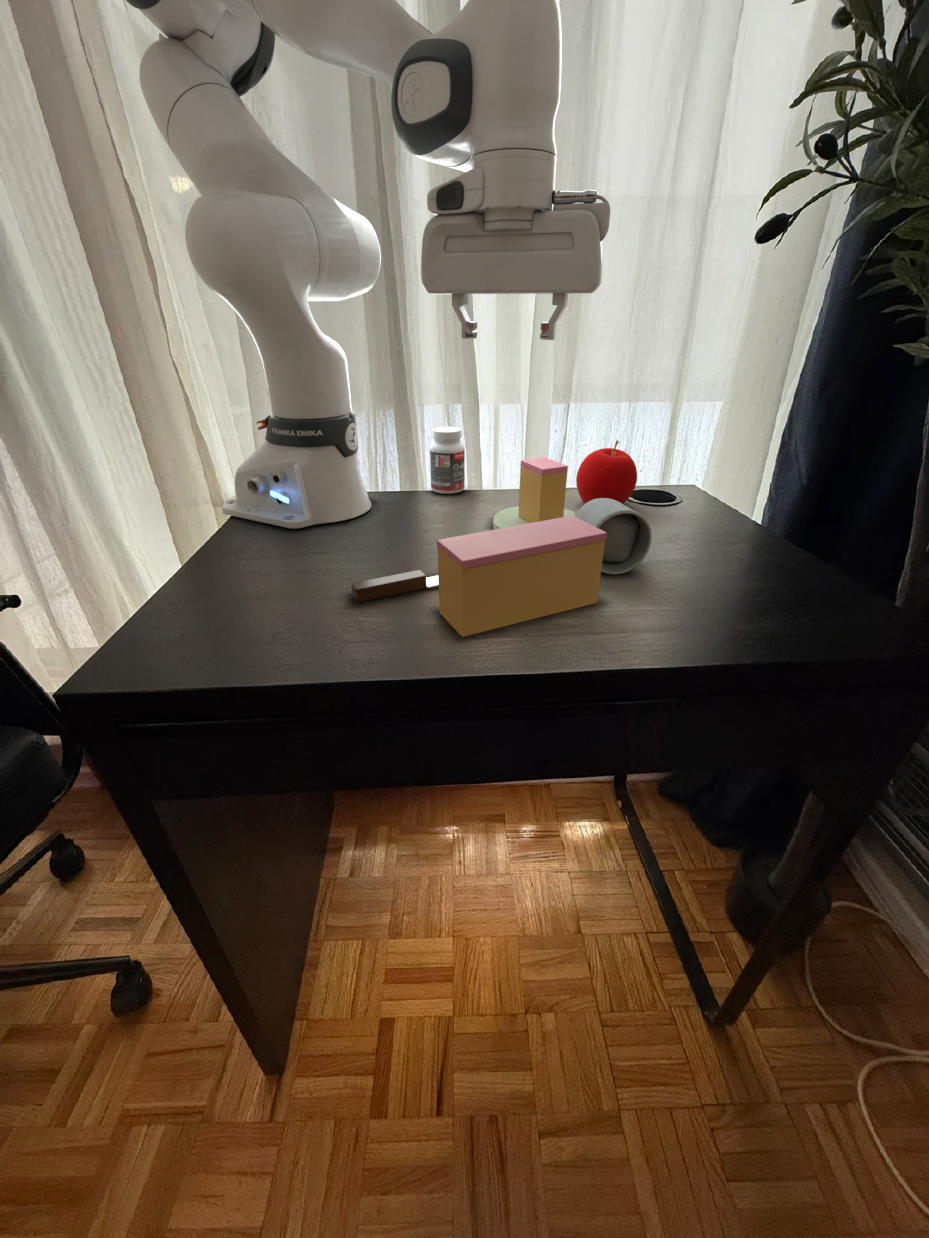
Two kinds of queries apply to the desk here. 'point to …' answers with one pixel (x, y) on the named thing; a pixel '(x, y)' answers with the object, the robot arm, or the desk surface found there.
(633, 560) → the ceramic mug
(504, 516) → the plate
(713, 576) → the desk surface
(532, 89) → the robot arm
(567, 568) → the loaf cake
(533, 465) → the cake slice
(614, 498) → the fruit
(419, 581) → the brown stick with tip
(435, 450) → the pill bottle
